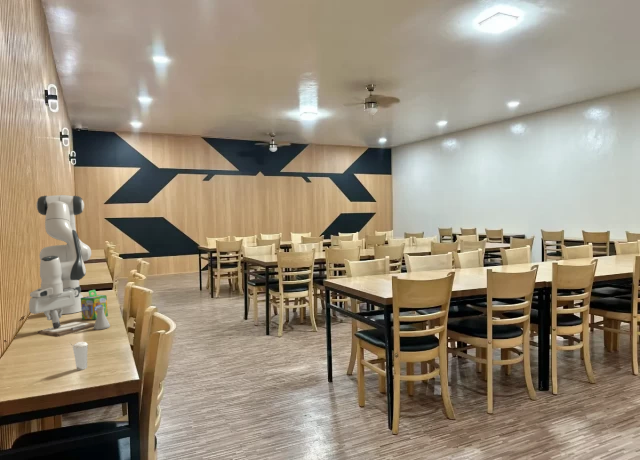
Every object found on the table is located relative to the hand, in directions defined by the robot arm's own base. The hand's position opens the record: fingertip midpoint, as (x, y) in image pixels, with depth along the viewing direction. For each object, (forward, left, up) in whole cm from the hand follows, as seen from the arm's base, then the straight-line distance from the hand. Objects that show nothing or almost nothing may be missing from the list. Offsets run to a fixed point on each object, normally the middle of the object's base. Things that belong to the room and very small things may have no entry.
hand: (54, 318), depth 208 cm
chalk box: (-5, +24, -6) cm, 26 cm away
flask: (+20, +10, -6) cm, 23 cm away
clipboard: (+5, +3, -6) cm, 8 cm away
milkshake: (+66, -31, -6) cm, 73 cm away
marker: (+1, 0, -4) cm, 4 cm away
